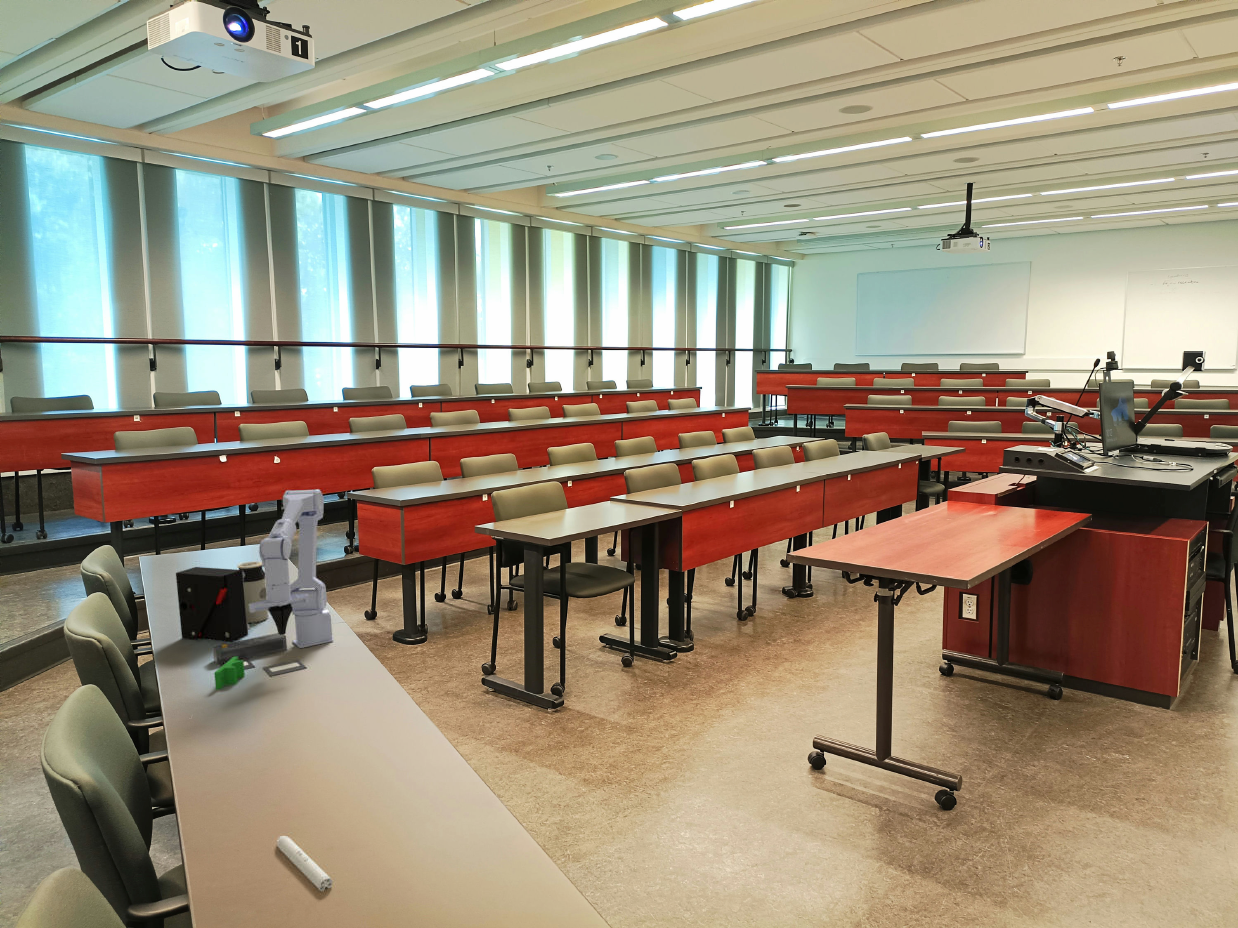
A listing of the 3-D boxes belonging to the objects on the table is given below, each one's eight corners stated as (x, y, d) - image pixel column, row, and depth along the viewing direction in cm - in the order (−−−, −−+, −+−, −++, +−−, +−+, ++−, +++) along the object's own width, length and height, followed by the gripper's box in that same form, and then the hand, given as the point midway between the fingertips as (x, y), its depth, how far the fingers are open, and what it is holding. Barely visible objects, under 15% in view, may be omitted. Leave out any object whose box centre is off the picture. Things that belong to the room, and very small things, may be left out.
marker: (273, 846, 137) (272, 832, 137) (285, 841, 139) (284, 827, 138) (320, 894, 124) (318, 879, 124) (333, 888, 126) (332, 873, 125)
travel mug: (235, 622, 262) (230, 566, 260) (255, 614, 269) (250, 560, 267) (254, 624, 259) (250, 567, 257) (274, 617, 266) (269, 561, 264)
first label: (247, 659, 227) (247, 658, 227) (255, 667, 221) (254, 666, 221) (220, 665, 223) (220, 664, 223) (226, 673, 217) (226, 672, 217)
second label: (297, 659, 225) (297, 658, 225) (306, 668, 219) (306, 666, 219) (262, 667, 220) (262, 666, 220) (270, 676, 214) (270, 675, 214)
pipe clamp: (231, 689, 206) (229, 671, 206) (215, 690, 206) (214, 672, 206) (249, 672, 217) (248, 655, 217) (235, 673, 217) (233, 656, 217)
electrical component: (253, 633, 250) (247, 568, 248) (227, 644, 241) (221, 576, 238) (207, 628, 256) (201, 565, 253) (180, 639, 246) (173, 573, 244)
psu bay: (282, 645, 238) (281, 630, 237) (287, 649, 234) (286, 634, 233) (214, 660, 227) (212, 644, 226) (217, 664, 223) (216, 649, 223)
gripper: (251, 591, 209) (256, 643, 211) (310, 580, 218) (314, 631, 219) (245, 585, 215) (249, 636, 217) (303, 575, 223) (306, 624, 225)
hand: (281, 633), depth 218 cm, fingers closed
